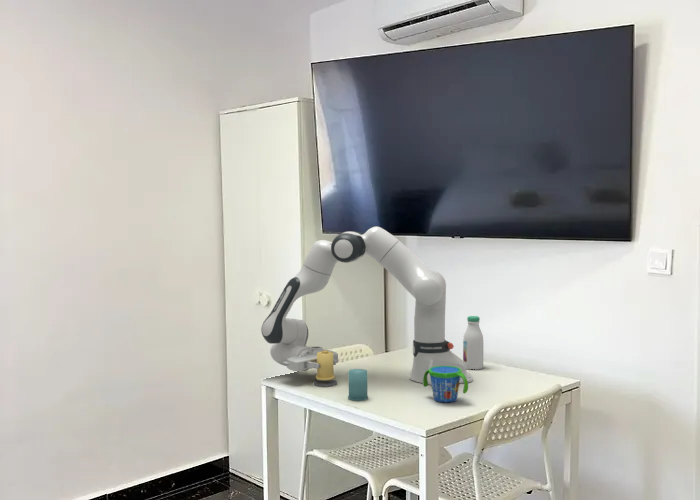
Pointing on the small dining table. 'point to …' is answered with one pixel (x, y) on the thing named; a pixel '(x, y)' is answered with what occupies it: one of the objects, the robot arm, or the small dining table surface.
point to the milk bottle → (473, 344)
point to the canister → (357, 385)
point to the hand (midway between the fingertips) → (326, 364)
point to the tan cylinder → (325, 365)
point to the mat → (325, 383)
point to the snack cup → (445, 382)
